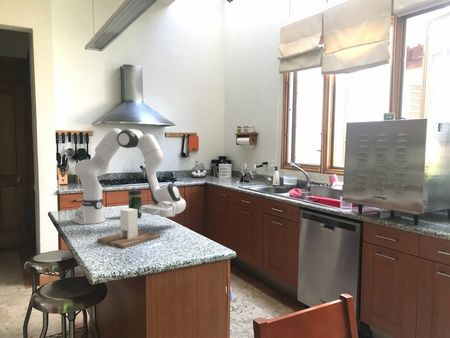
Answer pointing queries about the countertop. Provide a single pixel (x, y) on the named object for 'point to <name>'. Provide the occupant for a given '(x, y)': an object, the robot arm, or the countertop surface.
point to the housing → (129, 222)
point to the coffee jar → (135, 200)
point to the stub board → (124, 242)
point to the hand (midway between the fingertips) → (145, 212)
